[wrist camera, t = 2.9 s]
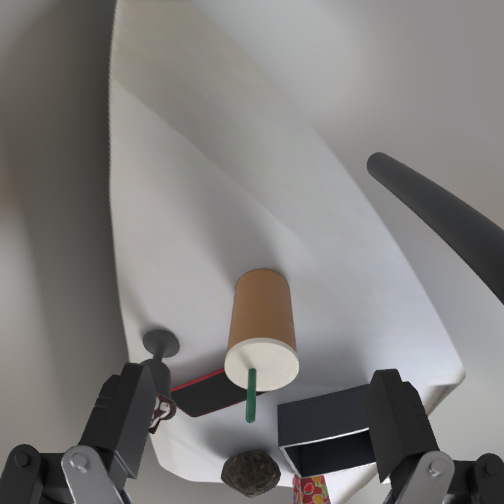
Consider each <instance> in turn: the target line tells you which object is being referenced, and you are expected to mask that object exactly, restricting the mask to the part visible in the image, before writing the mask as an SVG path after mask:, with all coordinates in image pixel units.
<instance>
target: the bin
mask: <svg viewBox="0 0 504 504" xmlns="http://www.w3.org/2000/svg"><path fill="white" fill-rule="evenodd" d="M368 387H369V384H367V385H363V386H360V387H356V388H352V389H349V390H345V391H341V392H337V393H333V394H329V395H324V396H320V397H316V398H311V399H307V400H302V401H297V402H292V403H287V404H282V405H277V414H278V447H279V449H280V450H281V452H282V453H283V455H284V456H285V458H286V460H287V461H288V463H289V464H290V466H291V467H292V469H293V470H294V472H295V474H296V475H297V477H298V478H299V479H302V478H309V477H315V476H321V475H326V474H331V473H336V472H341V471H345V470H350V469H354V468H358V467H362V466H366V465H370V464H374V463H376V459H375V455H374V450H373V446H372V441H371V437H370V433H369V429H368V424H367V420H366V416H365V412H364V397H365V394H366V391H367V389H368Z"/></svg>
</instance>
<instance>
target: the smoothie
mask: <svg viewBox="0 0 504 504" xmlns="http://www.w3.org/2000/svg"><path fill="white" fill-rule="evenodd" d="M293 502H294V504H331V503H330V499H329V495H328V491H327V487H326V483H325V479H324V475H321V476H315V477H309V478H302V479H299V478H298V477H297V475H296V474H295V476H294V478H293Z"/></svg>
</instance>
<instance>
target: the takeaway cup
mask: <svg viewBox="0 0 504 504" xmlns="http://www.w3.org/2000/svg"><path fill="white" fill-rule="evenodd" d="M224 369H225V372H226V374H227V376H228V378H229V379H230V380H231V381H232V382H233V383H235V384H236V385H238V386H240V387H242V388H245V389H247V403H246V421H247V422H248V423H253V422H254V421H255V412H256V391H271V390H276V389H279V388H281V387H284V386H286V385H287V384H289V383H290V382H291V381H292V380H294V378H295V377H296V375H297V374H298V371H299V359H298V356H297V350H296V341H295V331H294V322H293V313H292V305H291V296H290V288H289V285H288V282H287V281H286V279H285V278H284V277H283V276H282V275H280V274H279V273H277V272H275V271H273V270H269V269H256V270H253V271H250V272H248V273H246V274H245V275H243V276H242V277H241V278H240V279H239V281H238V282H237V285H236V288H235V296H234V304H233V311H232V319H231V326H230V334H229V342H228V350H227V355H226V357H225V364H224Z"/></svg>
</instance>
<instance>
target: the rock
mask: <svg viewBox="0 0 504 504" xmlns="http://www.w3.org/2000/svg"><path fill="white" fill-rule="evenodd" d="M280 476H281V473H280V470H279V466H278V465H277V463H276V462H275V461H274V460H273V459H272V458H271V457H270V456H269V455H267V454H264V453H262V452H260V451H255V452H244V453H239V454H238V455H237V456H235V457H231V458H229V459H228V460H227V461H226V462H225V464H224V466H223V470H222V473H221V479H222V481H223V482H224V483H226V484H227V485H228V486H229V487H231V488H233V489H235V490H237V491H238V492H240V493H241V494H243V495H245V496H247V497H249V498H254V497H255V496H258V495H261V494H262V493H265V492H267V491H269V490H271V489H272V488H274V487H275V486H276V485H277V484H278V482H279V480H280Z"/></svg>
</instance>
